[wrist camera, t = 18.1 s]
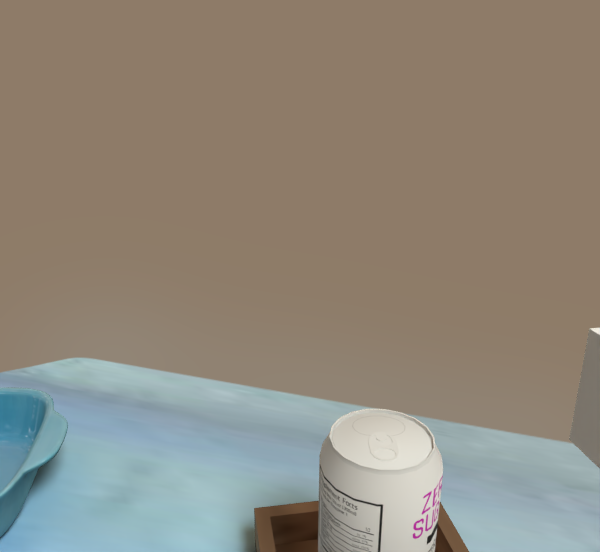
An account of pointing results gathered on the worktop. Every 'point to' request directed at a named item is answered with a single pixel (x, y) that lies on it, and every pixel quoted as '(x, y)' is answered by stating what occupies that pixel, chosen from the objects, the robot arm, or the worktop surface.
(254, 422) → the worktop surface
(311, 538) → the walnut tray
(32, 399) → the casserole dish
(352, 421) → the supplement can
